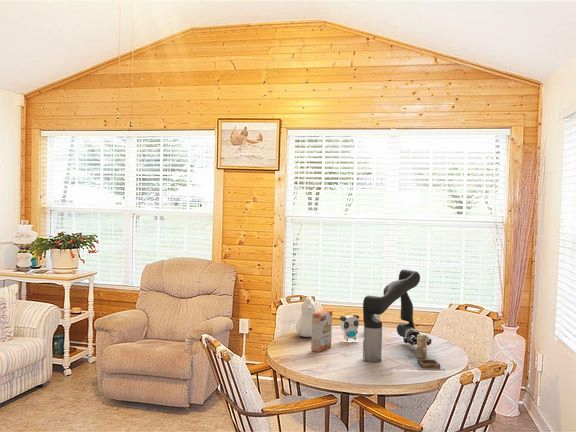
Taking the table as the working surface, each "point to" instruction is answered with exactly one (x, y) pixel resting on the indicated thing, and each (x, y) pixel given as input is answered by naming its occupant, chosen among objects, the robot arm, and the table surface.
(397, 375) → the table surface
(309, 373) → the table surface
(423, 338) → the maple pillar
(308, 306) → the decorative rooster
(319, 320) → the cracker box
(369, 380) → the table surface
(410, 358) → the board
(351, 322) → the panda figurine
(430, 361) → the socket collar
